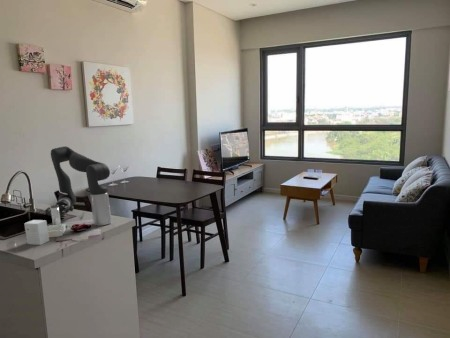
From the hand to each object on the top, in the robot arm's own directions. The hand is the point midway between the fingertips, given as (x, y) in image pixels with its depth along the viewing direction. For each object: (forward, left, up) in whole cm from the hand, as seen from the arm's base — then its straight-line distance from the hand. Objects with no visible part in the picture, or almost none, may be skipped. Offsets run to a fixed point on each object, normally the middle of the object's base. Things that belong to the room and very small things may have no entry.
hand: (57, 212), depth 192 cm
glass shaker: (0, +5, -7) cm, 8 cm away
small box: (+4, +29, -7) cm, 30 cm away
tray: (0, +18, -7) cm, 19 cm away
